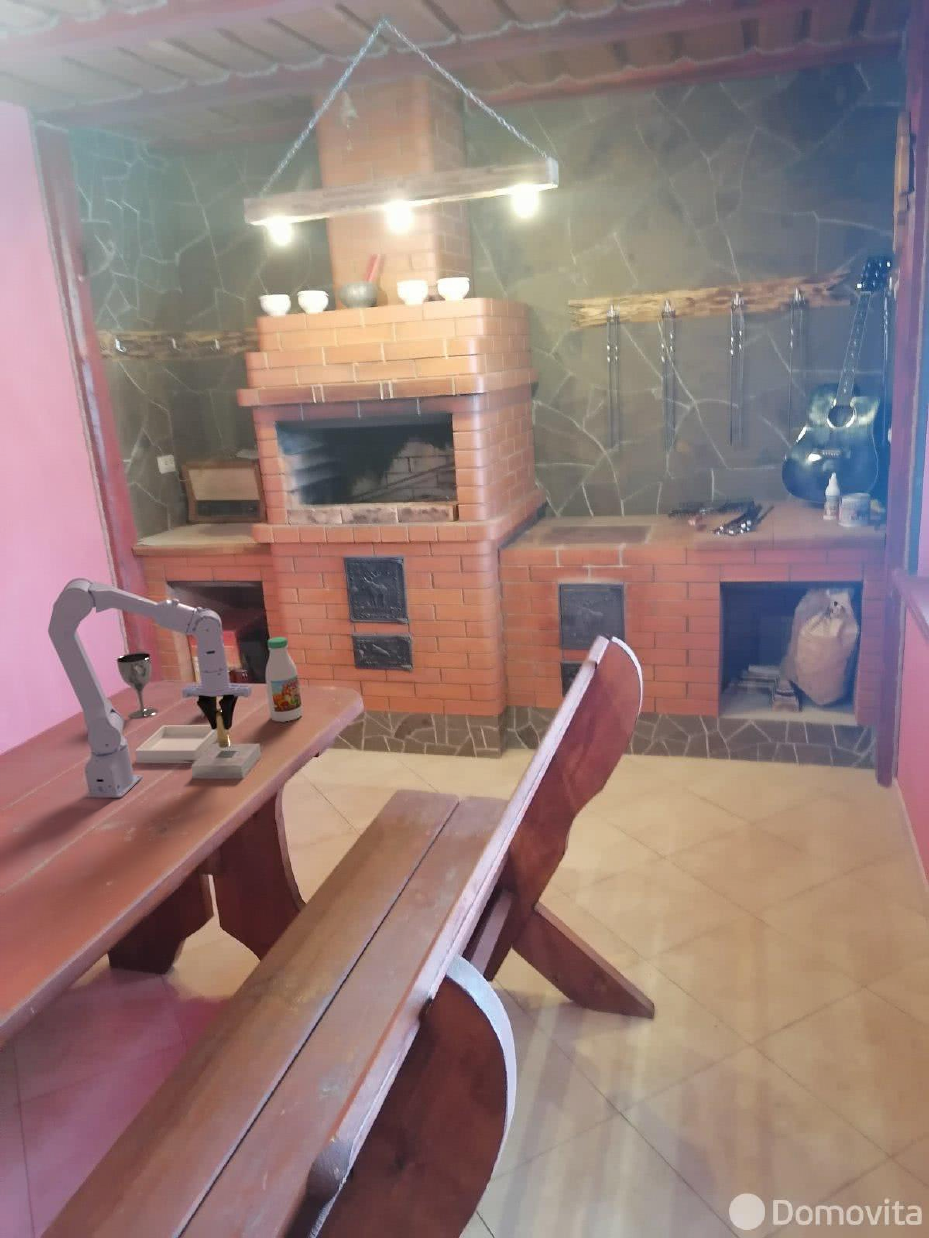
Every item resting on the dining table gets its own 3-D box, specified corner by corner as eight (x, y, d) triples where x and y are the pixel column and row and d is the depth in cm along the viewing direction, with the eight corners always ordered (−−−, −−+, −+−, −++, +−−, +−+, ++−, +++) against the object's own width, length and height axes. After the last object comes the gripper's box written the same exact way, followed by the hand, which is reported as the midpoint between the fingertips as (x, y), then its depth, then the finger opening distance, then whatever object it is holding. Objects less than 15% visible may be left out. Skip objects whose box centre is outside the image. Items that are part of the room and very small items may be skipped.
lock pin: (227, 747, 192) (222, 712, 190) (217, 747, 192) (211, 712, 190) (232, 742, 194) (227, 708, 192) (221, 742, 194) (216, 708, 192)
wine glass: (164, 706, 232) (155, 651, 228) (151, 718, 225) (141, 662, 221) (135, 707, 233) (125, 652, 229) (121, 719, 226) (110, 663, 221)
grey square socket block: (243, 778, 189) (241, 765, 188) (193, 778, 190) (191, 765, 189) (261, 756, 199) (259, 743, 198) (213, 756, 201) (212, 743, 200)
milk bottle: (265, 721, 218) (254, 643, 213) (280, 709, 225) (270, 633, 220) (293, 723, 216) (283, 644, 210) (308, 711, 223) (299, 634, 217)
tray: (196, 762, 198) (194, 750, 197) (137, 762, 200) (134, 750, 199) (221, 736, 211) (219, 724, 210) (165, 737, 213) (163, 725, 212)
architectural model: (223, 710, 229) (219, 682, 227) (213, 720, 222) (209, 692, 220) (209, 710, 229) (205, 683, 227) (200, 721, 223) (196, 692, 221)
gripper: (253, 661, 191) (261, 720, 195) (188, 661, 193) (197, 720, 197) (241, 672, 184) (249, 733, 188) (174, 673, 186) (183, 733, 190)
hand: (222, 727), depth 192 cm, fingers closed on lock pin, 2 cm apart
